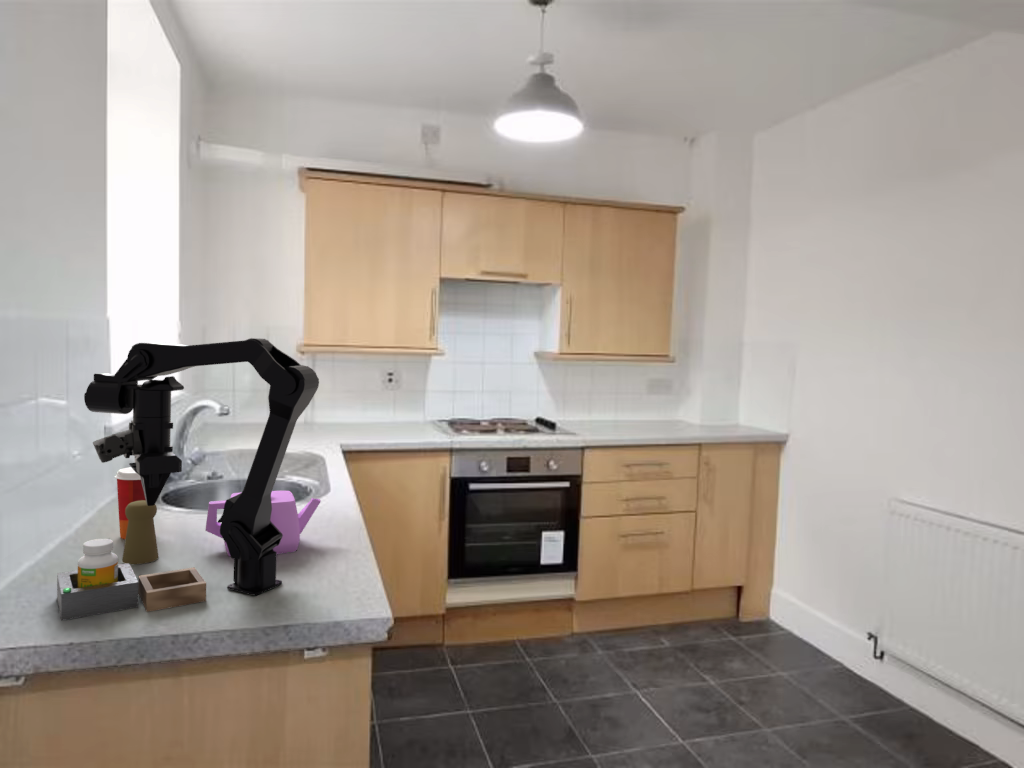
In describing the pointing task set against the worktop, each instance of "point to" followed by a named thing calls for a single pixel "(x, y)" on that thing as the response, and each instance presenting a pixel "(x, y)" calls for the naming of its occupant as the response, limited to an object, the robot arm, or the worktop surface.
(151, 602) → the wooden box
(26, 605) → the worktop surface
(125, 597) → the port
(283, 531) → the teakettle
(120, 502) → the paper cup
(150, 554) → the cork
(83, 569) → the supplement bottle
